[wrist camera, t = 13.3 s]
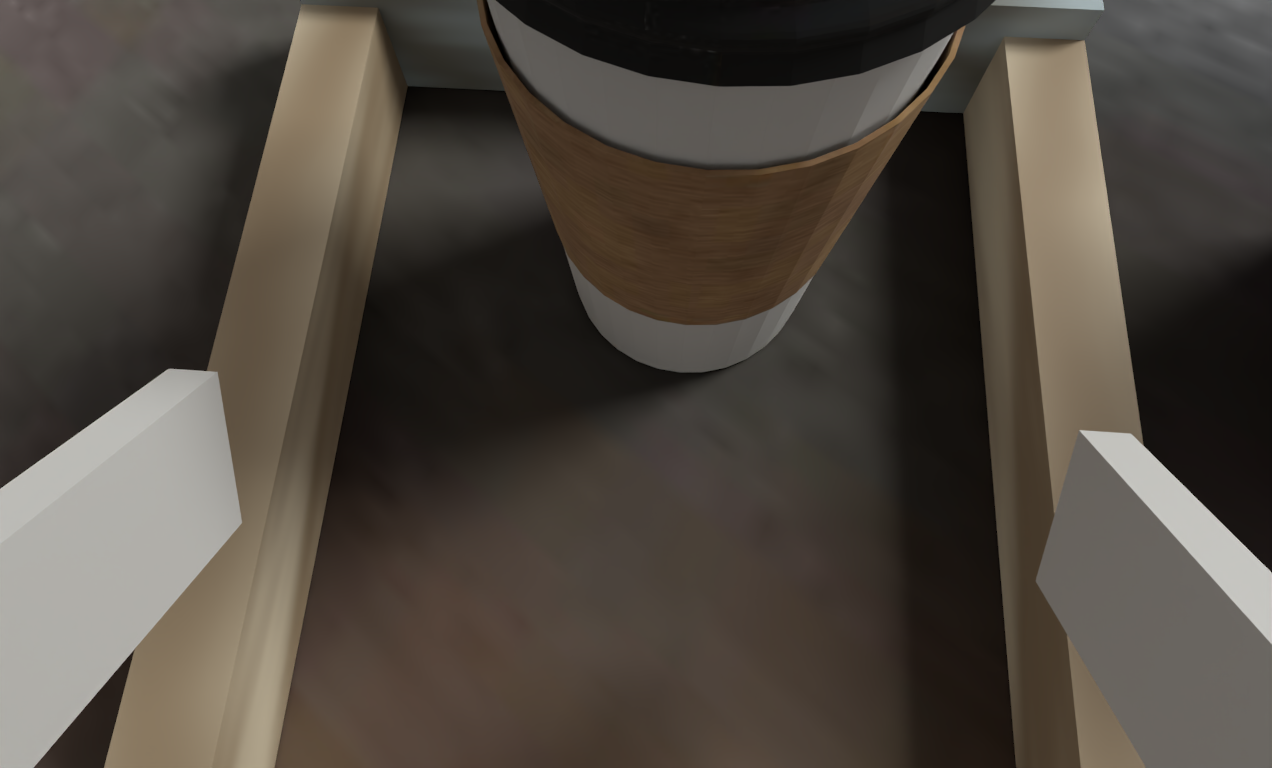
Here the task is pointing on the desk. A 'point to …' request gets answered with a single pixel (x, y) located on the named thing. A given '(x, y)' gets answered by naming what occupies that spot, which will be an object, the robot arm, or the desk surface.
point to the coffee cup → (711, 148)
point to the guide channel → (335, 299)
